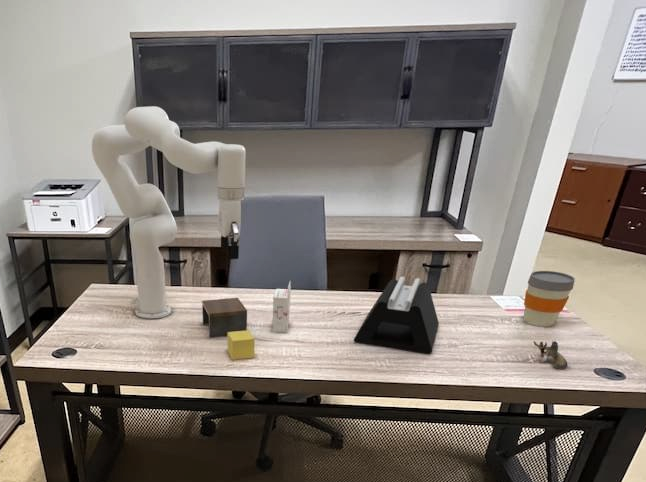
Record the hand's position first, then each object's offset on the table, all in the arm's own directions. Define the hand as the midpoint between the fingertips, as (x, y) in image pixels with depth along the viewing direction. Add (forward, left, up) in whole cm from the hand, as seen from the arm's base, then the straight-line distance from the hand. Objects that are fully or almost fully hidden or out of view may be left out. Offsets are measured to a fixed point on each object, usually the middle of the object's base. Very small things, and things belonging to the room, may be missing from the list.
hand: (229, 254), depth 158 cm
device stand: (+48, +21, -25) cm, 59 cm away
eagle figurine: (+90, +20, -25) cm, 96 cm away
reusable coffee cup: (+87, +52, -25) cm, 105 cm away
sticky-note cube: (+10, -14, -25) cm, 30 cm away
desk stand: (-3, +1, -25) cm, 25 cm away
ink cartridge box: (+13, +10, -25) cm, 30 cm away
